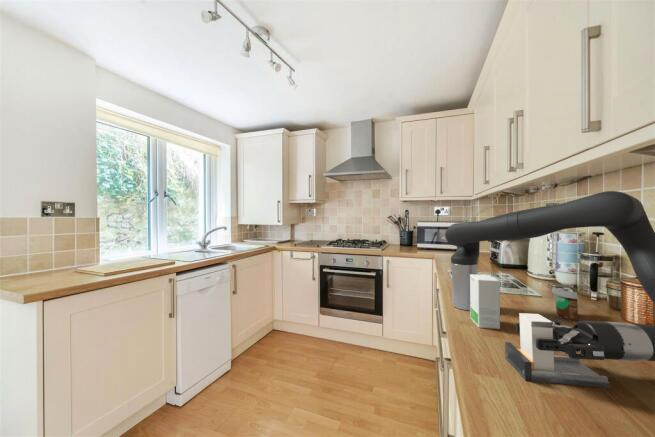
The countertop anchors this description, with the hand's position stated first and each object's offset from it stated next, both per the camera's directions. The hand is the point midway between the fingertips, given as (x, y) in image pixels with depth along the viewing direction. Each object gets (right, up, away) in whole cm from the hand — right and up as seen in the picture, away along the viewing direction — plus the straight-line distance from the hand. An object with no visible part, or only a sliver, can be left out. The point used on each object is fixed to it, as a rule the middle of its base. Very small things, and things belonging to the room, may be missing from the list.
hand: (525, 335), depth 59 cm
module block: (+2, -7, 0) cm, 7 cm away
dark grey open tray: (+5, -8, -1) cm, 9 cm away
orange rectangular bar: (0, -6, 0) cm, 7 cm away
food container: (+37, -8, +31) cm, 49 cm away
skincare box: (+7, -8, +26) cm, 28 cm away
